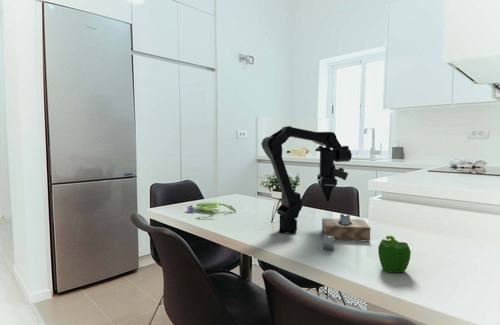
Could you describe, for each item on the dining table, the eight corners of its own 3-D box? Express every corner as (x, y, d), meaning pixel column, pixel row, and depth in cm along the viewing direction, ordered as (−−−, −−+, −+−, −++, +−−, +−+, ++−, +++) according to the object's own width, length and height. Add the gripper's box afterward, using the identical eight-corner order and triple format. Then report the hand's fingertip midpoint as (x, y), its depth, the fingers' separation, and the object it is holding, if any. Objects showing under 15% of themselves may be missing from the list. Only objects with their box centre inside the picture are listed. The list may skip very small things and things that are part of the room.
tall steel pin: (340, 236, 121) (340, 215, 120) (339, 234, 124) (339, 213, 124) (350, 237, 120) (350, 216, 120) (348, 234, 124) (349, 214, 123)
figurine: (211, 220, 148) (211, 208, 147) (180, 211, 167) (180, 200, 166) (240, 213, 161) (240, 203, 160) (208, 206, 180) (208, 196, 179)
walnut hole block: (325, 239, 117) (325, 226, 117) (322, 230, 129) (322, 218, 129) (370, 241, 115) (370, 227, 115) (362, 231, 127) (363, 219, 127)
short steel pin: (323, 251, 105) (323, 237, 104) (322, 247, 108) (322, 234, 108) (334, 251, 104) (335, 238, 104) (333, 247, 108) (333, 235, 108)
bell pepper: (399, 264, 94) (400, 230, 93) (415, 275, 85) (416, 239, 85) (371, 264, 93) (372, 231, 93) (384, 276, 85) (385, 239, 84)
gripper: (350, 163, 122) (350, 204, 123) (343, 161, 140) (342, 195, 141) (321, 163, 123) (320, 203, 124) (317, 160, 142) (317, 195, 143)
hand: (326, 199), depth 133 cm, fingers open, 9 cm apart
